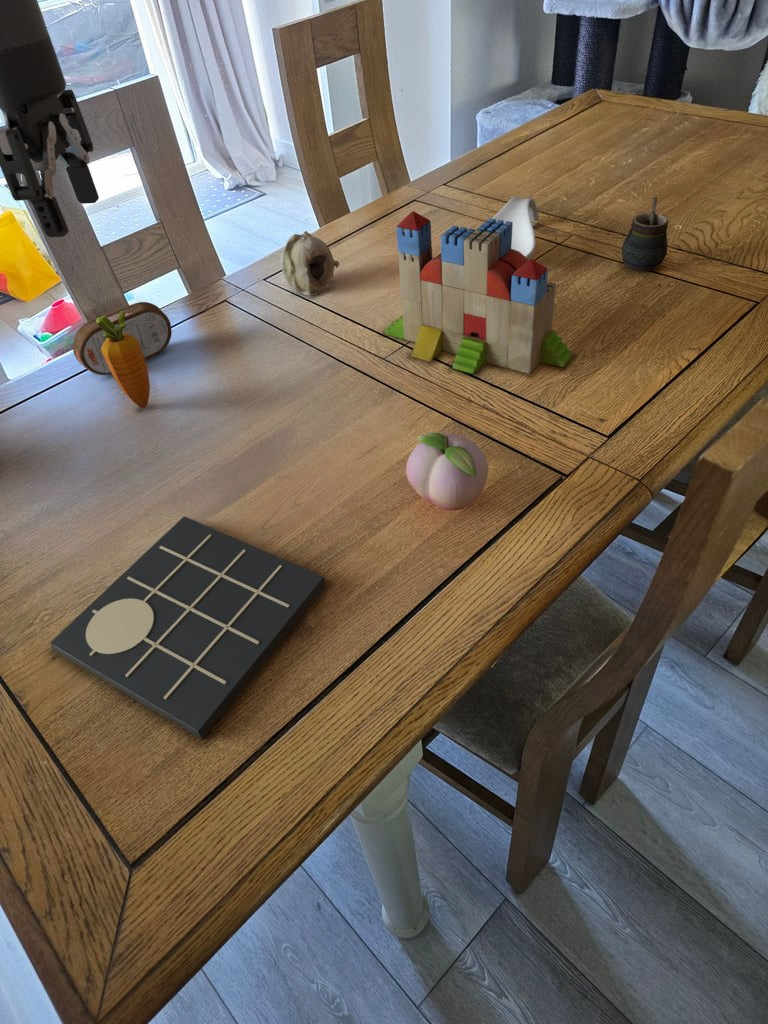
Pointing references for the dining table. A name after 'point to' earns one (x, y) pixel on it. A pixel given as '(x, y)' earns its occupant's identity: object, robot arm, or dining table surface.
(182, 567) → the grid board
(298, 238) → the beige rounded lump
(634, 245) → the mate gourd
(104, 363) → the tin
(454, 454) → the decorative fruit
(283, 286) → the dining table surface
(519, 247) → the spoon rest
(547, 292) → the block set
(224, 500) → the dining table surface
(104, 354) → the carrot
